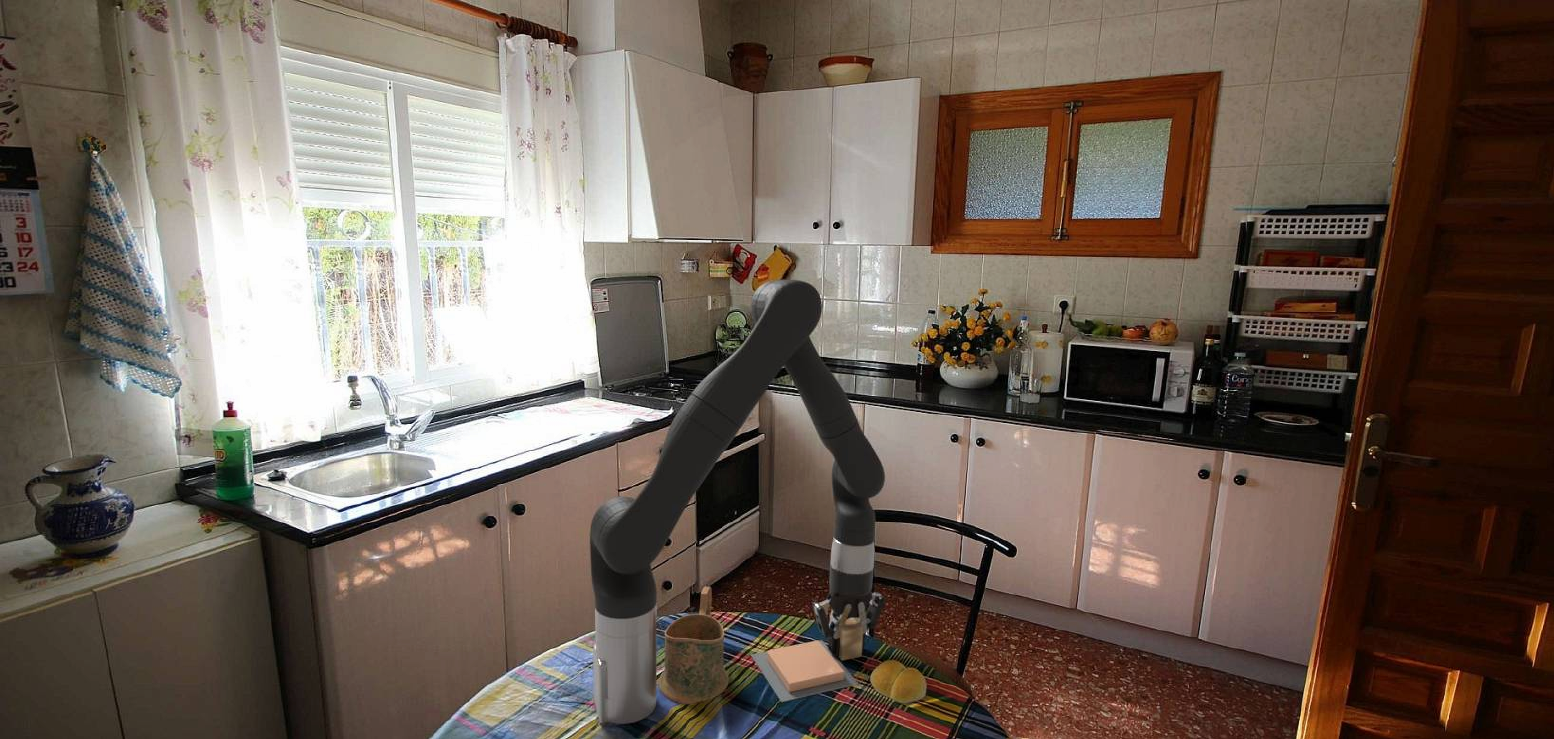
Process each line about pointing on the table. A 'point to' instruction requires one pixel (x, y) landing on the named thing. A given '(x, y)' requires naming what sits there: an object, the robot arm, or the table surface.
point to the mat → (786, 695)
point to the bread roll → (898, 682)
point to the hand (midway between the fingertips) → (845, 651)
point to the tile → (804, 666)
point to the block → (851, 640)
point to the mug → (694, 656)
